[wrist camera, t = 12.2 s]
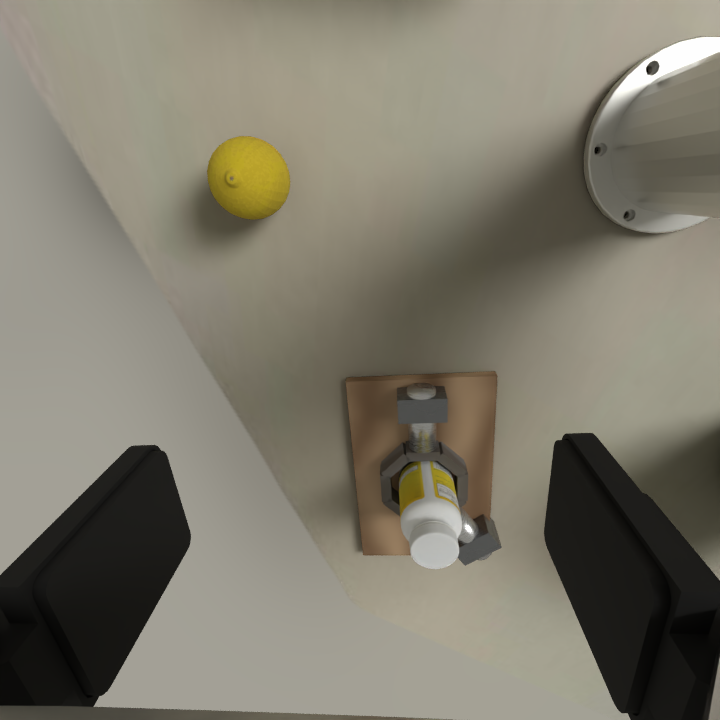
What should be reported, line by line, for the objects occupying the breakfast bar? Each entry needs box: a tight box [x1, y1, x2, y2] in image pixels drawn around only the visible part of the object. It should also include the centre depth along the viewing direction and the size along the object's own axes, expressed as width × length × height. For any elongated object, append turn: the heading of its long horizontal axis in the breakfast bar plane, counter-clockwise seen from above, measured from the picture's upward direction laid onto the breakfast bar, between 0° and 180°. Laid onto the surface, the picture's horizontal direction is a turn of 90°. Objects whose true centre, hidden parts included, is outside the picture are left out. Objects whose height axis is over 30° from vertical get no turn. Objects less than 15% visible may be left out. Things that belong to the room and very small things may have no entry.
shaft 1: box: [397, 383, 448, 453], centre depth 39 cm, size 6×4×4 cm
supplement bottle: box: [399, 461, 462, 569], centre depth 38 cm, size 5×5×10 cm
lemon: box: [207, 136, 290, 220], centre depth 30 cm, size 6×6×8 cm
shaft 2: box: [457, 507, 502, 565], centre depth 44 cm, size 6×4×4 cm
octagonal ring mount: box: [346, 371, 497, 555], centre depth 42 cm, size 14×22×3 cm, turn 4°
